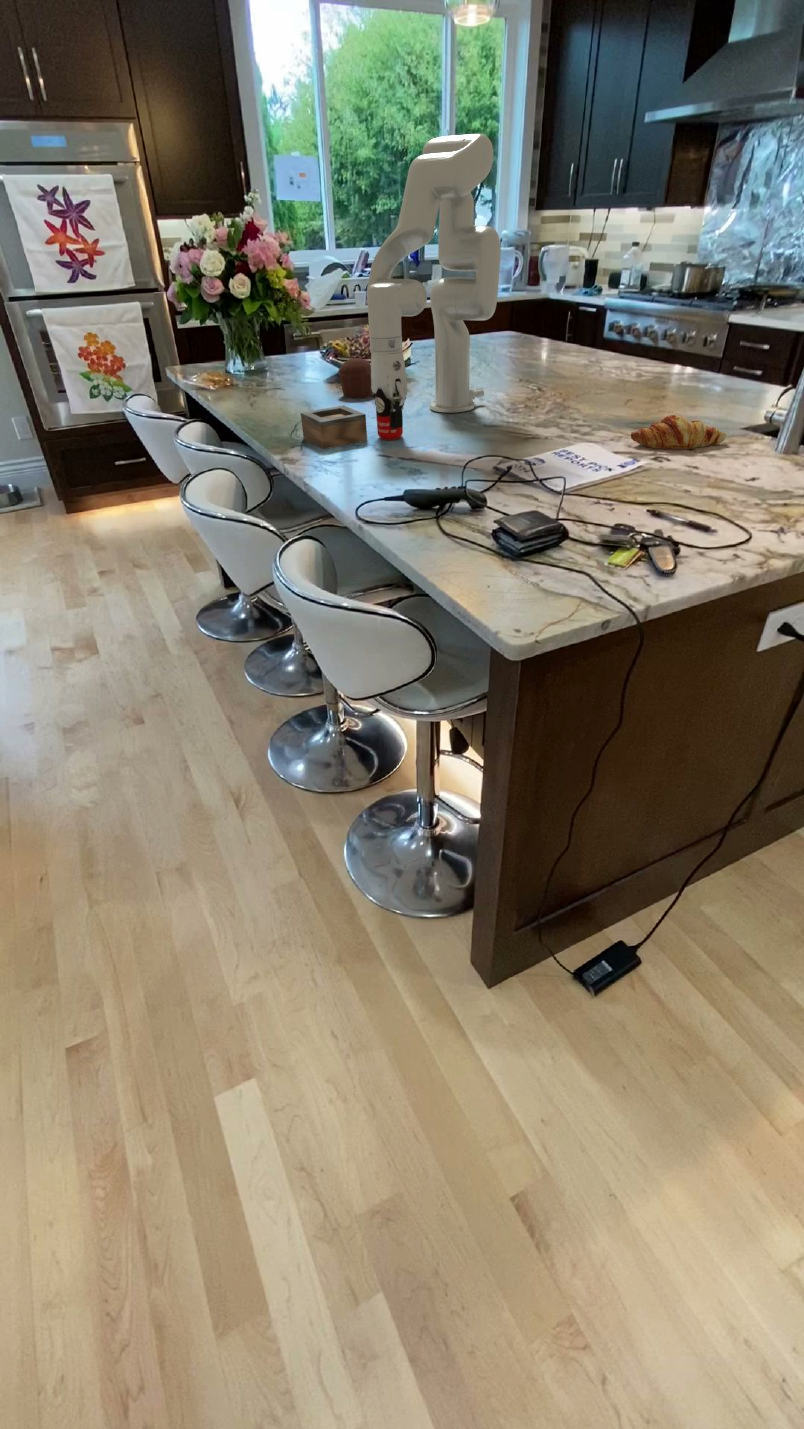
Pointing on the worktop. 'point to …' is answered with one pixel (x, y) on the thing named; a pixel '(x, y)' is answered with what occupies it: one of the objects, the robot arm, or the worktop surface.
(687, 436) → the croissant
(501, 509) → the worktop surface
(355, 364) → the muffin
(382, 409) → the beverage can
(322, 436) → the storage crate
